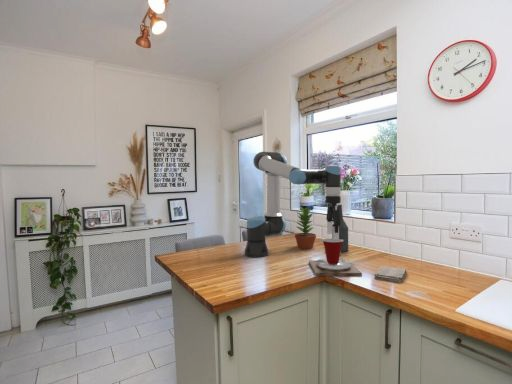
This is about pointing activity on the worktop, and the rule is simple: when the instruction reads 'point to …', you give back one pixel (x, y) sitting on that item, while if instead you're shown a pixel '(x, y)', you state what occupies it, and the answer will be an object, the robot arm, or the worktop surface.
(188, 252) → the worktop surface
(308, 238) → the potted plant
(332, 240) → the plastic cup
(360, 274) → the mount board
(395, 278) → the washcloth
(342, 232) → the bottle
